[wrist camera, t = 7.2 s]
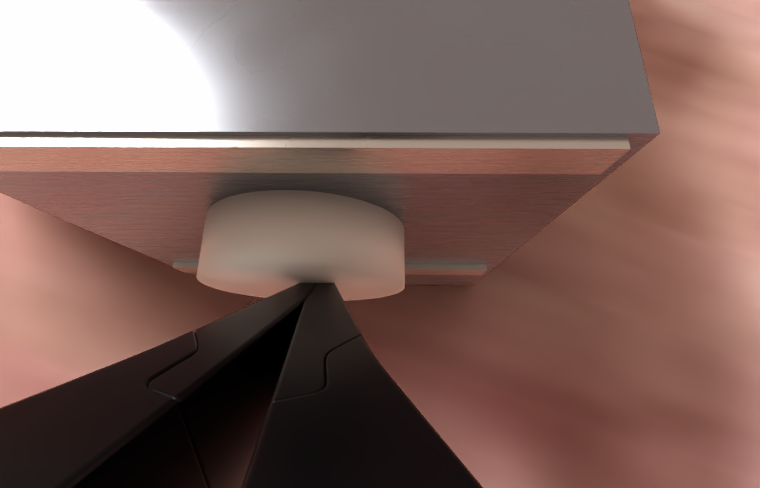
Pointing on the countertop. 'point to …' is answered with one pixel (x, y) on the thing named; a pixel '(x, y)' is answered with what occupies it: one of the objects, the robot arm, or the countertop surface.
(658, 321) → the countertop surface
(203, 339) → the robot arm
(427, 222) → the mount
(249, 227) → the knob
